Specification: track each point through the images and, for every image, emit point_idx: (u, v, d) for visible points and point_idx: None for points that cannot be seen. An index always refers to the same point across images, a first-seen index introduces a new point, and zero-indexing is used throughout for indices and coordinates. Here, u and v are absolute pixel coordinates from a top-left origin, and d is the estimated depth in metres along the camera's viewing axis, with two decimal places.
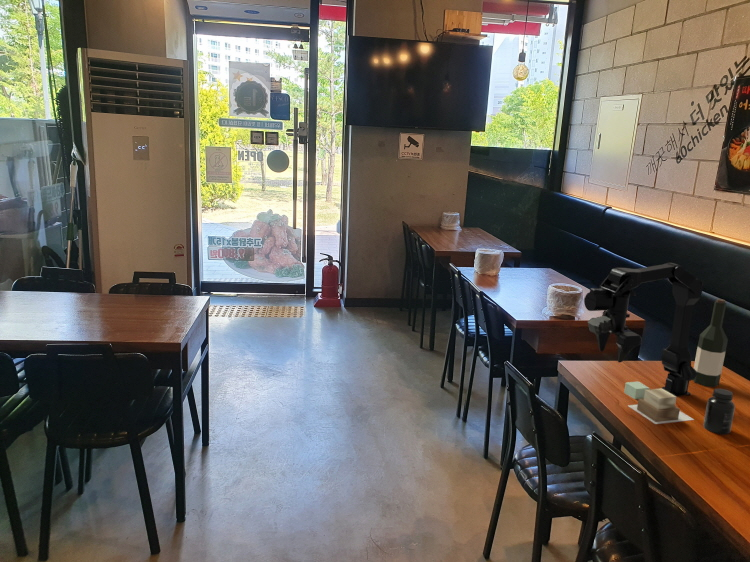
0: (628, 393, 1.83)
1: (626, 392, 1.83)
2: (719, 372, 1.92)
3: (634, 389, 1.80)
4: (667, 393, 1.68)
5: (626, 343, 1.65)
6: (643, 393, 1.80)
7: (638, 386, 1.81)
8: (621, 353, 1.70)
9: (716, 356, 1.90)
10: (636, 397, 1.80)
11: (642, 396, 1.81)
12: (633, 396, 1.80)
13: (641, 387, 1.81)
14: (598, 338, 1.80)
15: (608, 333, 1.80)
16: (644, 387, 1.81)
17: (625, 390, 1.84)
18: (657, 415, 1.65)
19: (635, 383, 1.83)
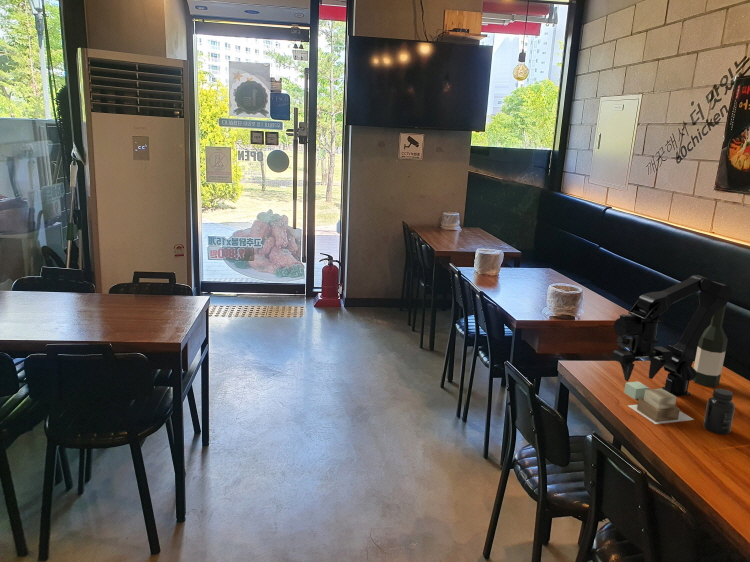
0: (628, 393, 1.83)
1: (626, 392, 1.83)
2: (719, 372, 1.92)
3: (634, 389, 1.80)
4: (667, 393, 1.68)
5: (612, 355, 1.80)
6: (643, 393, 1.80)
7: (638, 386, 1.81)
8: (623, 370, 1.80)
9: (716, 356, 1.90)
10: (636, 397, 1.80)
11: (642, 396, 1.81)
12: (633, 396, 1.80)
13: (641, 387, 1.81)
14: None
15: (658, 363, 1.80)
16: (644, 387, 1.81)
17: (625, 390, 1.84)
18: (657, 415, 1.65)
19: (635, 383, 1.83)
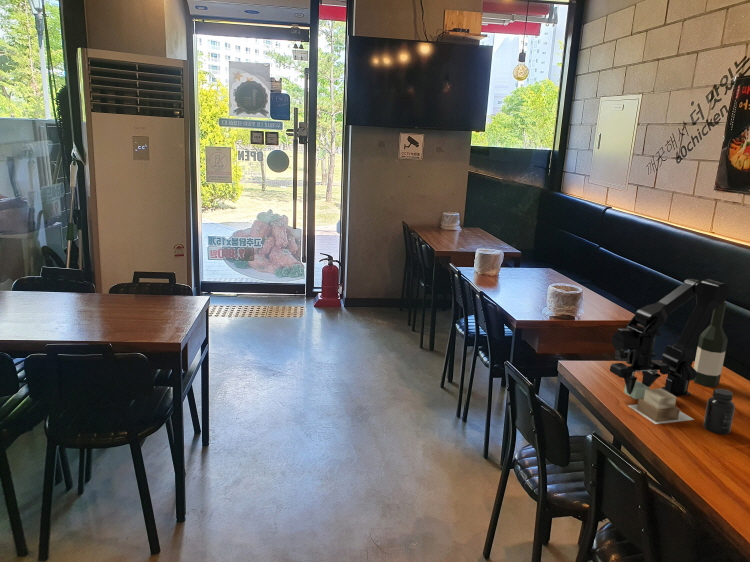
0: None
1: (626, 392, 1.83)
2: (719, 372, 1.92)
3: (634, 389, 1.80)
4: (667, 393, 1.68)
5: (610, 369, 1.81)
6: (643, 393, 1.80)
7: (638, 386, 1.81)
8: (625, 383, 1.82)
9: (716, 356, 1.90)
10: (636, 397, 1.80)
11: (642, 396, 1.80)
12: (633, 396, 1.80)
13: (641, 386, 1.80)
14: None
15: (651, 377, 1.80)
16: (644, 387, 1.81)
17: (625, 390, 1.84)
18: (657, 415, 1.65)
19: (635, 383, 1.83)
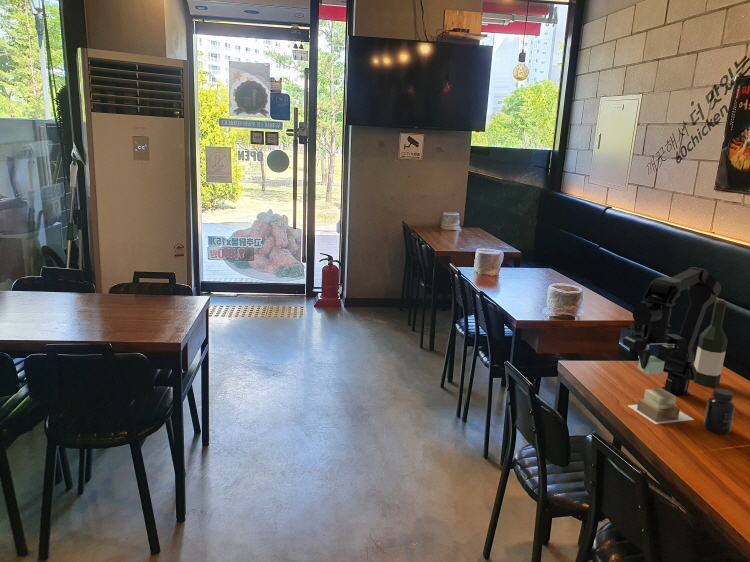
0: None
1: (640, 366, 1.75)
2: (719, 372, 1.92)
3: (648, 363, 1.71)
4: (667, 393, 1.68)
5: (623, 342, 1.72)
6: (658, 367, 1.71)
7: (653, 360, 1.72)
8: (639, 357, 1.73)
9: (716, 356, 1.90)
10: (650, 371, 1.71)
11: (657, 370, 1.72)
12: (647, 370, 1.71)
13: (656, 361, 1.72)
14: None
15: (666, 351, 1.71)
16: (659, 361, 1.72)
17: (639, 365, 1.75)
18: (657, 415, 1.65)
19: (650, 357, 1.74)
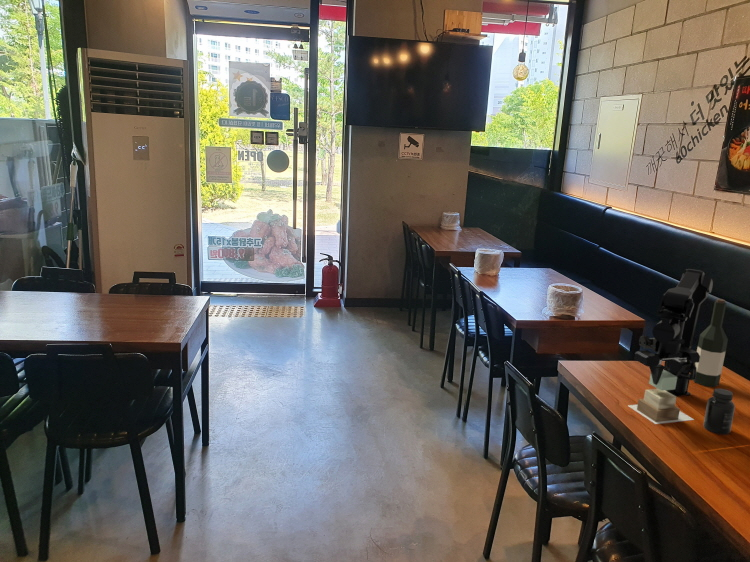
0: None
1: (652, 382, 1.68)
2: (719, 372, 1.92)
3: (661, 378, 1.65)
4: (667, 393, 1.68)
5: (634, 357, 1.65)
6: (671, 383, 1.65)
7: (665, 375, 1.66)
8: (651, 372, 1.66)
9: (716, 356, 1.90)
10: (663, 387, 1.65)
11: (669, 386, 1.65)
12: (660, 386, 1.65)
13: (668, 376, 1.65)
14: None
15: (679, 366, 1.65)
16: (672, 376, 1.65)
17: (651, 380, 1.69)
18: (657, 415, 1.65)
19: None
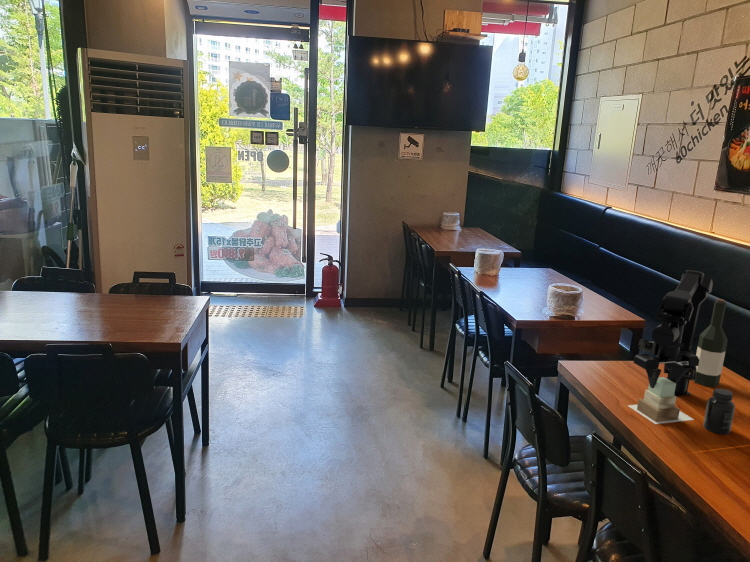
0: (653, 389, 1.68)
1: (650, 388, 1.69)
2: (719, 372, 1.92)
3: (660, 385, 1.65)
4: None
5: (634, 360, 1.66)
6: (669, 389, 1.66)
7: (664, 382, 1.66)
8: (648, 376, 1.66)
9: (716, 356, 1.90)
10: (662, 394, 1.65)
11: (668, 393, 1.66)
12: (658, 393, 1.66)
13: (667, 383, 1.66)
14: None
15: (681, 369, 1.66)
16: (670, 383, 1.66)
17: (649, 386, 1.69)
18: (657, 415, 1.65)
19: (660, 379, 1.69)
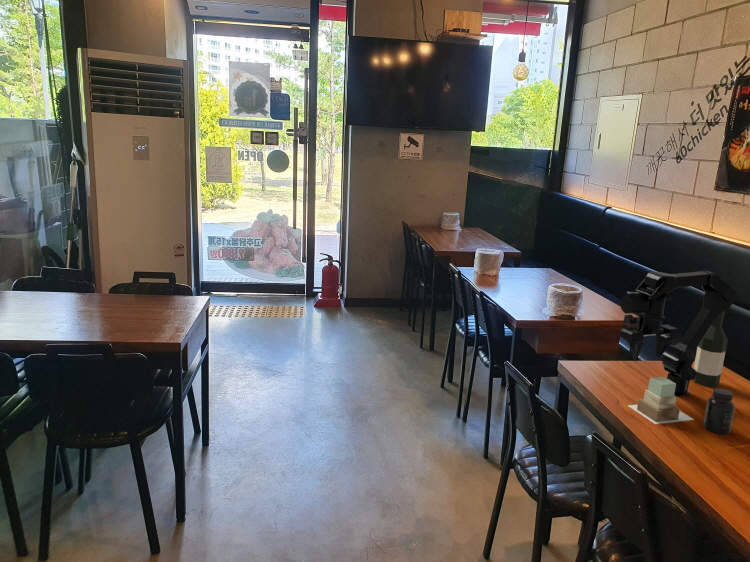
0: (653, 389, 1.68)
1: (650, 388, 1.69)
2: (719, 372, 1.92)
3: (660, 385, 1.65)
4: None
5: (620, 334, 1.78)
6: (669, 389, 1.66)
7: (664, 382, 1.66)
8: (631, 349, 1.79)
9: (716, 356, 1.90)
10: (662, 394, 1.65)
11: (668, 393, 1.66)
12: (658, 393, 1.66)
13: (667, 383, 1.66)
14: None
15: (666, 341, 1.79)
16: (670, 383, 1.66)
17: (649, 386, 1.69)
18: (657, 415, 1.65)
19: (660, 379, 1.69)
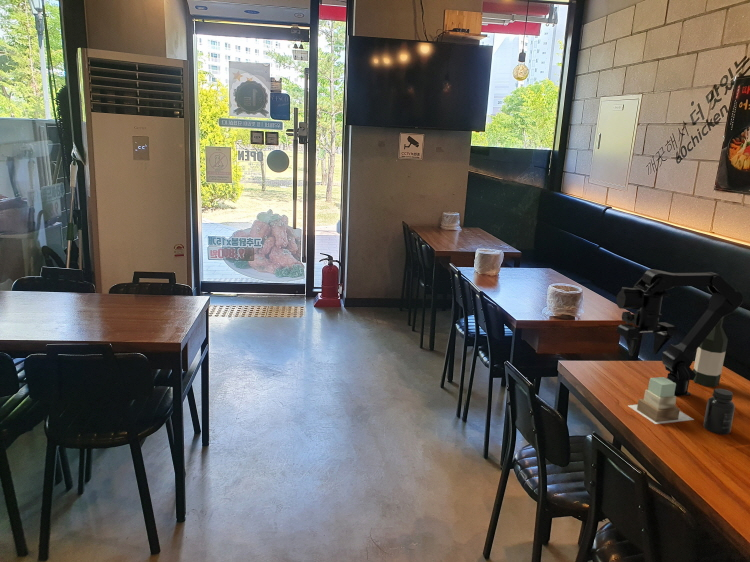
0: (653, 389, 1.68)
1: (650, 388, 1.69)
2: (719, 372, 1.92)
3: (660, 385, 1.65)
4: None
5: (617, 330, 1.81)
6: (669, 389, 1.66)
7: (664, 382, 1.66)
8: (627, 345, 1.82)
9: (716, 356, 1.90)
10: (662, 394, 1.65)
11: (668, 393, 1.66)
12: (658, 393, 1.66)
13: (667, 383, 1.66)
14: None
15: (663, 338, 1.81)
16: (670, 383, 1.66)
17: (649, 386, 1.69)
18: (657, 415, 1.65)
19: (660, 379, 1.69)
